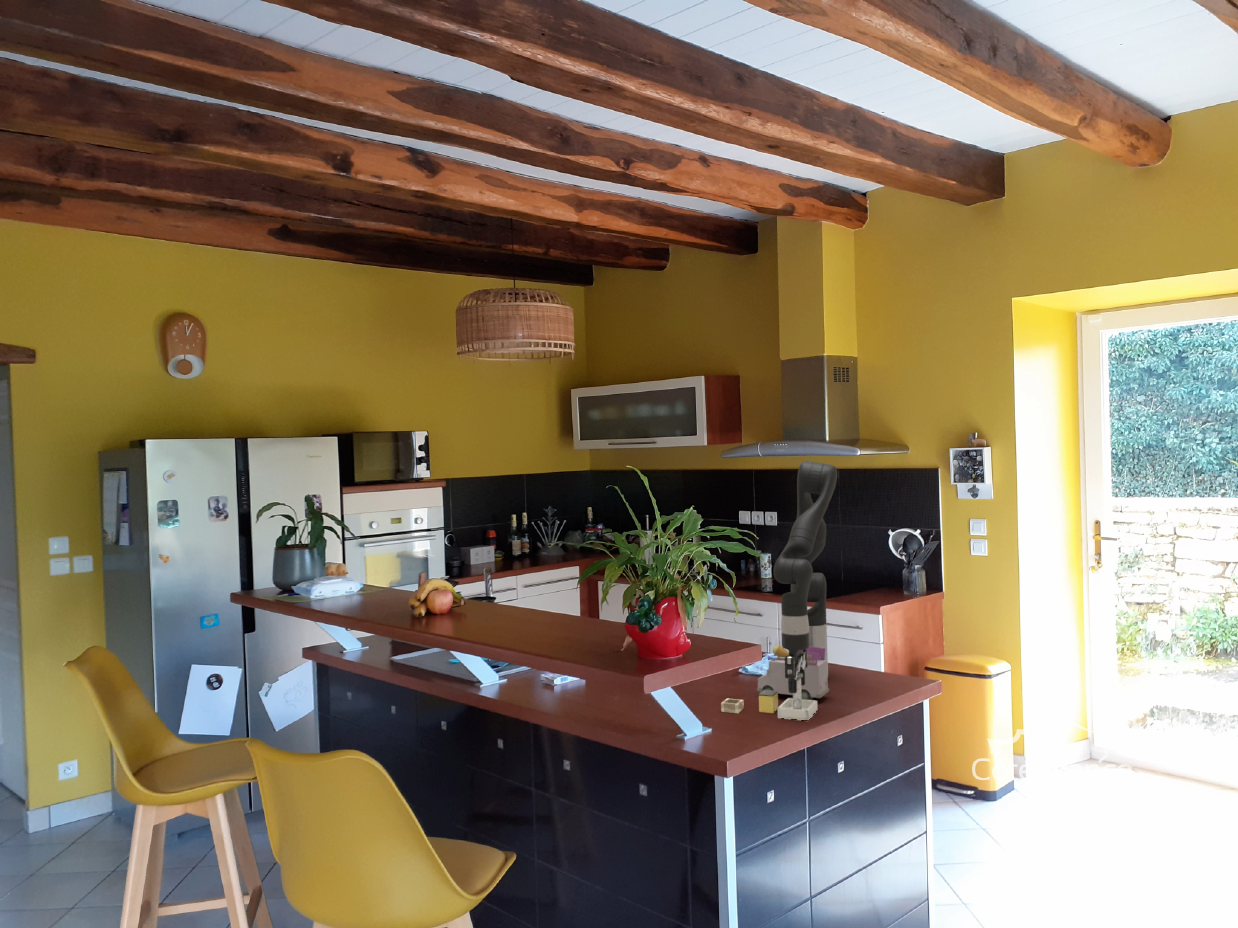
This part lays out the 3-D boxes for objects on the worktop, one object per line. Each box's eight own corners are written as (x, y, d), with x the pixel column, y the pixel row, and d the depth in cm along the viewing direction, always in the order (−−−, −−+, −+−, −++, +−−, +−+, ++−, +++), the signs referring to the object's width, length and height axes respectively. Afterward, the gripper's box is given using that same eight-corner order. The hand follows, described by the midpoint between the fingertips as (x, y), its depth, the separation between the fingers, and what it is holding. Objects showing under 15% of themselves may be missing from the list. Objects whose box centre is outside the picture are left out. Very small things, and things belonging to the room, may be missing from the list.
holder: (727, 706, 267) (726, 698, 267) (743, 708, 265) (743, 699, 265) (721, 711, 262) (721, 702, 262) (738, 713, 260) (737, 704, 260)
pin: (793, 709, 259) (792, 671, 259) (805, 711, 258) (804, 672, 258) (790, 713, 256) (788, 674, 256) (802, 714, 255) (800, 675, 255)
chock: (764, 707, 266) (763, 689, 265) (778, 708, 264) (777, 690, 264) (759, 711, 261) (758, 694, 261) (773, 713, 259) (772, 695, 259)
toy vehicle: (767, 689, 283) (766, 641, 283) (830, 696, 273) (828, 646, 273) (756, 697, 275) (754, 647, 275) (819, 705, 265) (818, 653, 265)
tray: (788, 707, 264) (787, 697, 264) (817, 710, 260) (817, 700, 260) (777, 718, 254) (777, 707, 254) (808, 721, 251) (807, 710, 251)
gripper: (801, 636, 249) (803, 696, 249) (814, 626, 261) (816, 683, 262) (774, 635, 252) (776, 694, 252) (788, 624, 265) (790, 681, 265)
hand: (797, 688), depth 257 cm, fingers open, 8 cm apart
